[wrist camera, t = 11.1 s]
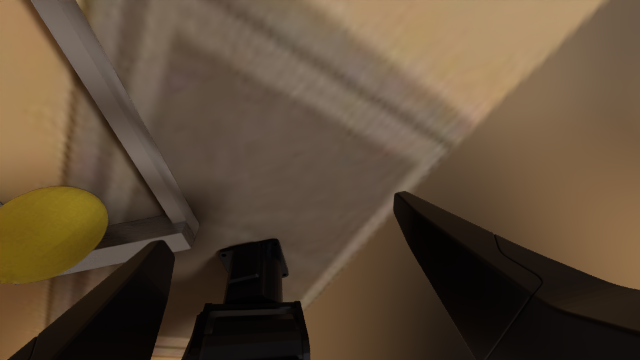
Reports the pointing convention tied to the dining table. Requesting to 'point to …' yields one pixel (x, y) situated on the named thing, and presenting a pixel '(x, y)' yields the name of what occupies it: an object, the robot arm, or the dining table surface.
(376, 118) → the dining table surface
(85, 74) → the channel
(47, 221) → the lemon
